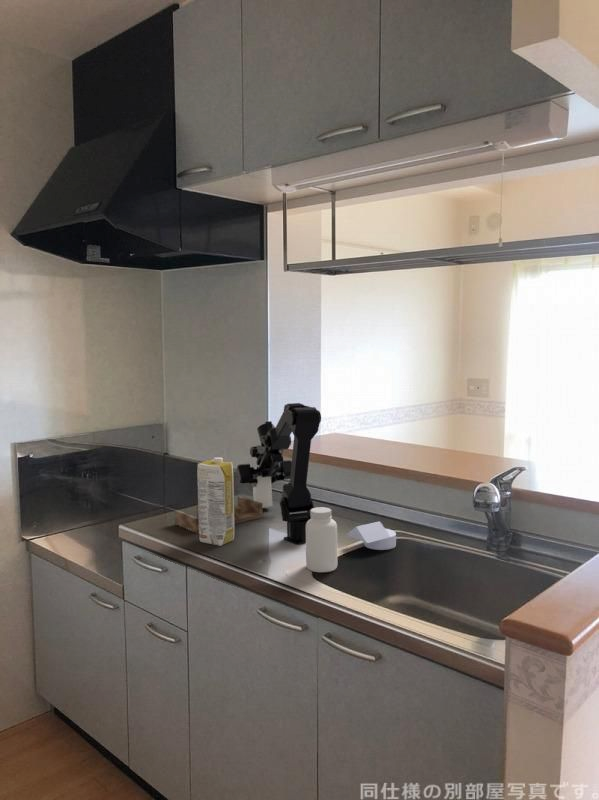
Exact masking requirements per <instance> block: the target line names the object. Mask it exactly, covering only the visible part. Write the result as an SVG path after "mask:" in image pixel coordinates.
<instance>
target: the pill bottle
mask: <svg viewBox="0 0 599 800" xmlns="http://www.w3.org/2000/svg"><path fill="white" fill-rule="evenodd" d="M310 516H311V519H309V520H308V521H307V523H306V542H305V565H306V568H307V569H308V571H311V572H314V573H315V572H316V573H330V572H333V571H335V570H336V569H337V568H338V524H337V522H336V521H335V520H334V519H333V516H332V509H331V508H330V507H324V506H320V507H318V506H317V507H314V508H313V509H311V510H310Z"/></svg>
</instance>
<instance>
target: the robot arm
mask: <svg viewBox="0 0 599 800" xmlns="http://www.w3.org/2000/svg"><path fill="white" fill-rule="evenodd" d="M321 421H322V414H321V412H320V410H318V409H317V408H316V407H315V406H309V405H305V404H303V403H300V402H296V403H295V402H294V403H287V404H284V406H283V412H282V414H281V416H280V418H279V419H278V422H277V424H276V426H275V425H274V424H273V423H272V421H271V420H269V421H265V422H264V423H262V424H261V425H259V426H257V429H256V430H257V434H258V437H259V442H260V444H261V445H258V444H257V445H256V446H251V447H250V450H249V455H250V456H251V458H256V465H257V466H259V467H257V466H256V467H257V469H254V467H255V466H251V464H250V463H241V464H237V466H236V474H237V476H238V477H237V478H238V481H239V483H240V484H242V485H243V484H251V486H252V488H253V487H255V486H256V484H257V483H258V481H257V477H258V476H262V477H271V486H272V485H274V484H276V483H280V482H282V481H284V480H289V482H288V483H285V484H283V486H282V494H281V497H280V502H279V506H280V512H281V519H282V520H281V521H283V522H286V533H287V534H286V535H287V536H283V540H285V541H288V542H290V543H293V544H295V545H301V544H303V543H306V523H307V521H308V520H310V519H311V516H310V510H311V509H313V508H315V505H314V503H313V499H312V494H311V492H310V490H309V488H308V487H307V482H308V474H309V473H308V471H309V462H310V454H311V453H310V452H311V445H312V439H313V438H314V437H315V436H316V435H317V433H318V431H319V430H320V429H319V428H320V424H321ZM291 434H292V435H293V444H292V437H291ZM291 444H292V446H293V447H292V454H291V455H292V456H291V459H287V460H286V459H285V460H284V456H283V455H284V451H285V450H289V448H290V446H291Z"/></svg>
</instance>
